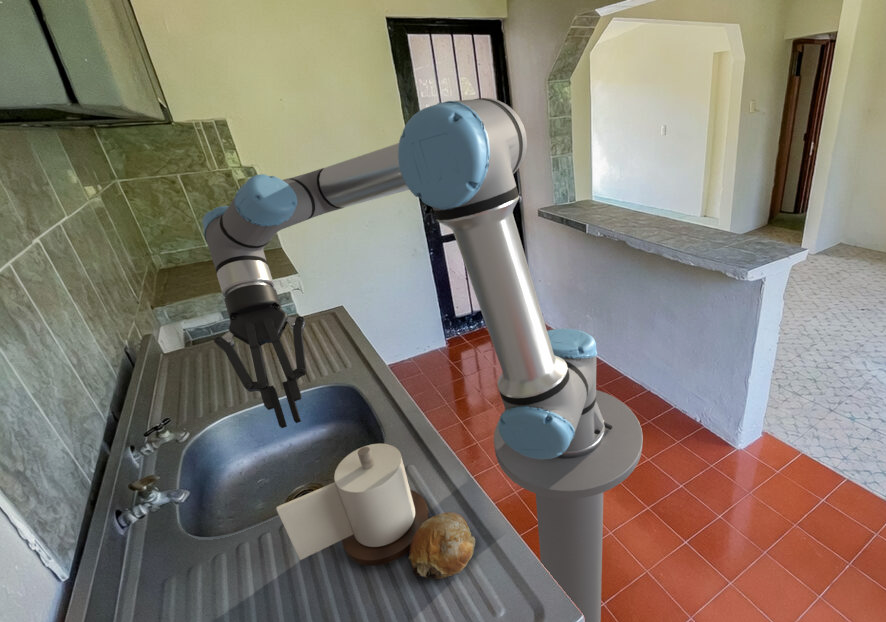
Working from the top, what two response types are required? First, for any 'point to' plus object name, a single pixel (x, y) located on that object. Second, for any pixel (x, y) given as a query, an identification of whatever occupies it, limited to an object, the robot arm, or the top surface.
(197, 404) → the top surface
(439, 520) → the bread roll
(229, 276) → the robot arm
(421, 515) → the towel holder
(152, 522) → the top surface
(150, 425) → the top surface
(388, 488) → the paper towel roll
